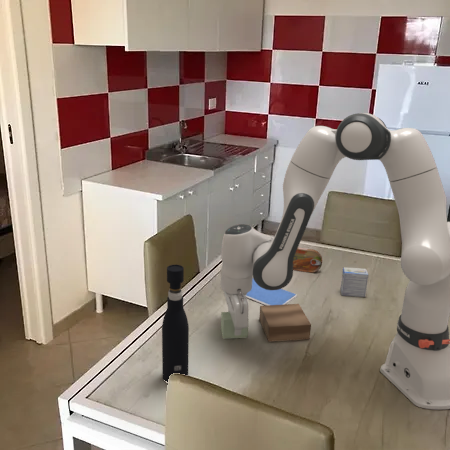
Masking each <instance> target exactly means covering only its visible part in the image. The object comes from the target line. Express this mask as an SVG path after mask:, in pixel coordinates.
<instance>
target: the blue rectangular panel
mask: <svg viewBox="0 0 450 450" xmlns="http://www.w3.org/2000/svg"><path fill="white" fill-rule="evenodd" d="M245 296H246V299H249V300H252V301H254V302H257V303H259V304H261V305H263V306H265V305H285V304H290V303H291V302H292V301H293V300H295V299H296V298H297V297H298V294H297V293H294V292H291V291H288V290H286V289H283V288H281V289H279V290H266V289H263V288H261V287H260V286H259V285H257V283H256V282H255V281H254V278H253V279H252V289H251V291H249V292H248V293H247V295H245Z"/></svg>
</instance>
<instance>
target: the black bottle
mask: <svg viewBox="0 0 450 450" xmlns="http://www.w3.org/2000/svg"><path fill="white" fill-rule="evenodd" d="M184 273H185V271H184V266H182V265H181V264H171V265H168V266H167V267H166V281H167V283H169V290H168V292H167V294H168V295H167V298H166V300H167V301H166V302H167V305H166V307H167V308H166V310H165V312H164V316H163V320H162V325H161V348H162V349H161V351H162V352H161V355H162V367H161V368H162V370H161V372H162V380H163V381H164V380H165V381H167V382H168V379H169V376H170V375H171V374H173V373H180V374H185V375H188V376H189V344H190V343H189V341H190V340H189V332H190V330H189V329H190V328H189V321H188V317H187V314H186V311H185V308H184V297H183V291H182V286H181V284H182V283H184V282H185V281H184V279H185V278H184ZM165 381H164V382H165Z"/></svg>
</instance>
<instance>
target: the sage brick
mask: <svg viewBox="0 0 450 450" xmlns="http://www.w3.org/2000/svg"><path fill="white" fill-rule="evenodd" d="M220 315H221V317H220V332H221V336H222V339H223V340H224V339H225V340H226V339H239V338H240V339H243V338H248V335H249V334H248V333H249V326H248V327H247V328H242V330H241V335H239V336H236V335H235V334H234V324H233V321H232V318H231V315H230V312H228V311H221V314H220Z"/></svg>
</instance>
